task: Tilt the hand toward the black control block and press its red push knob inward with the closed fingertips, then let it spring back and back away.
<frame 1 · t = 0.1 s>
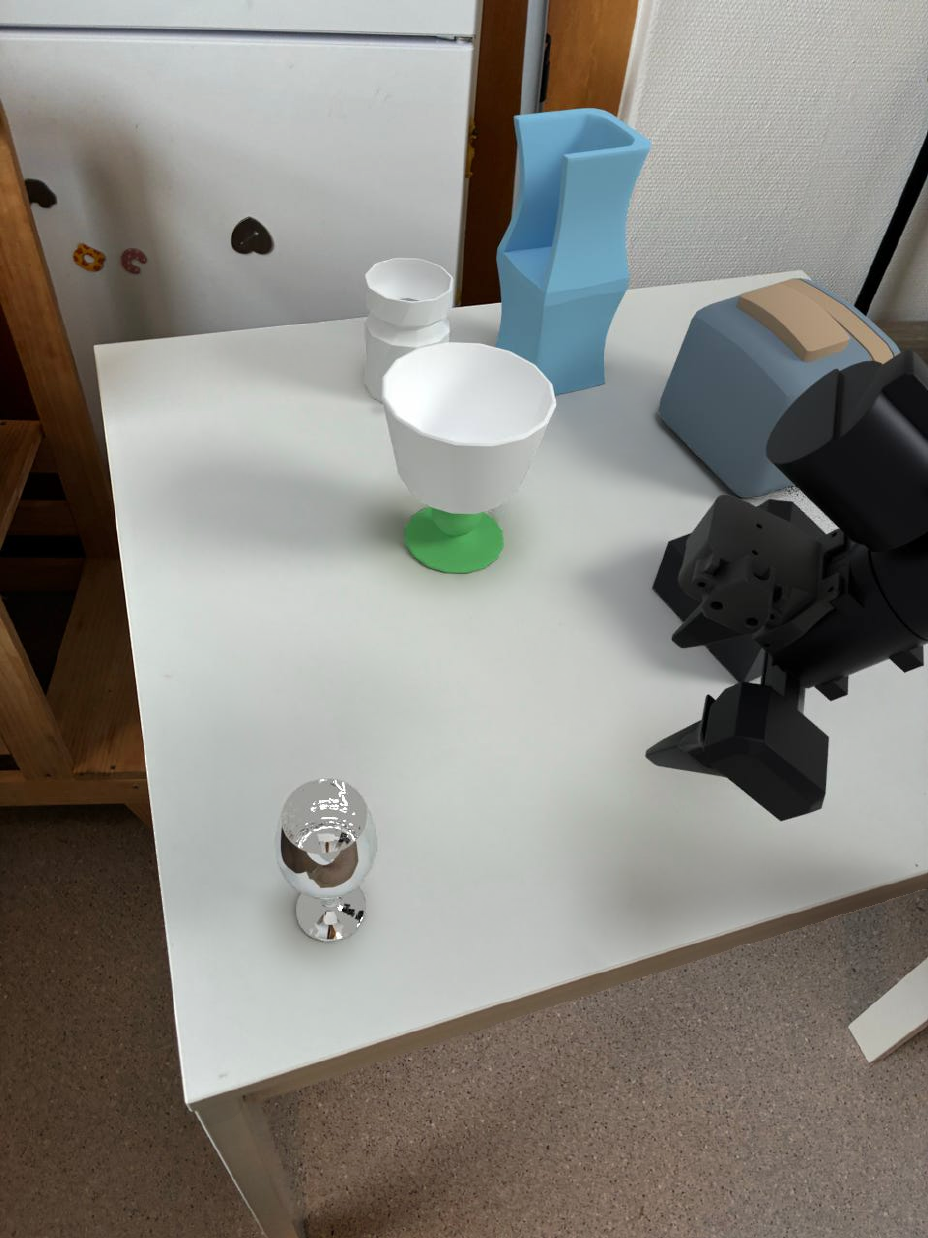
hand: (664, 697, 54), 14 cm above the table, tool tilted 35°, fingers open, 9 cm apart
cup: (454, 539, 82), on the table
wineglass: (331, 909, 58), on the table
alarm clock: (752, 444, 95), on the table
vase 2: (405, 386, 97), on the table
vase: (544, 369, 101), on the table
button: (769, 549, 72), point 8 cm above the table, slide at 0.1 cm
control block: (739, 615, 78), on the table
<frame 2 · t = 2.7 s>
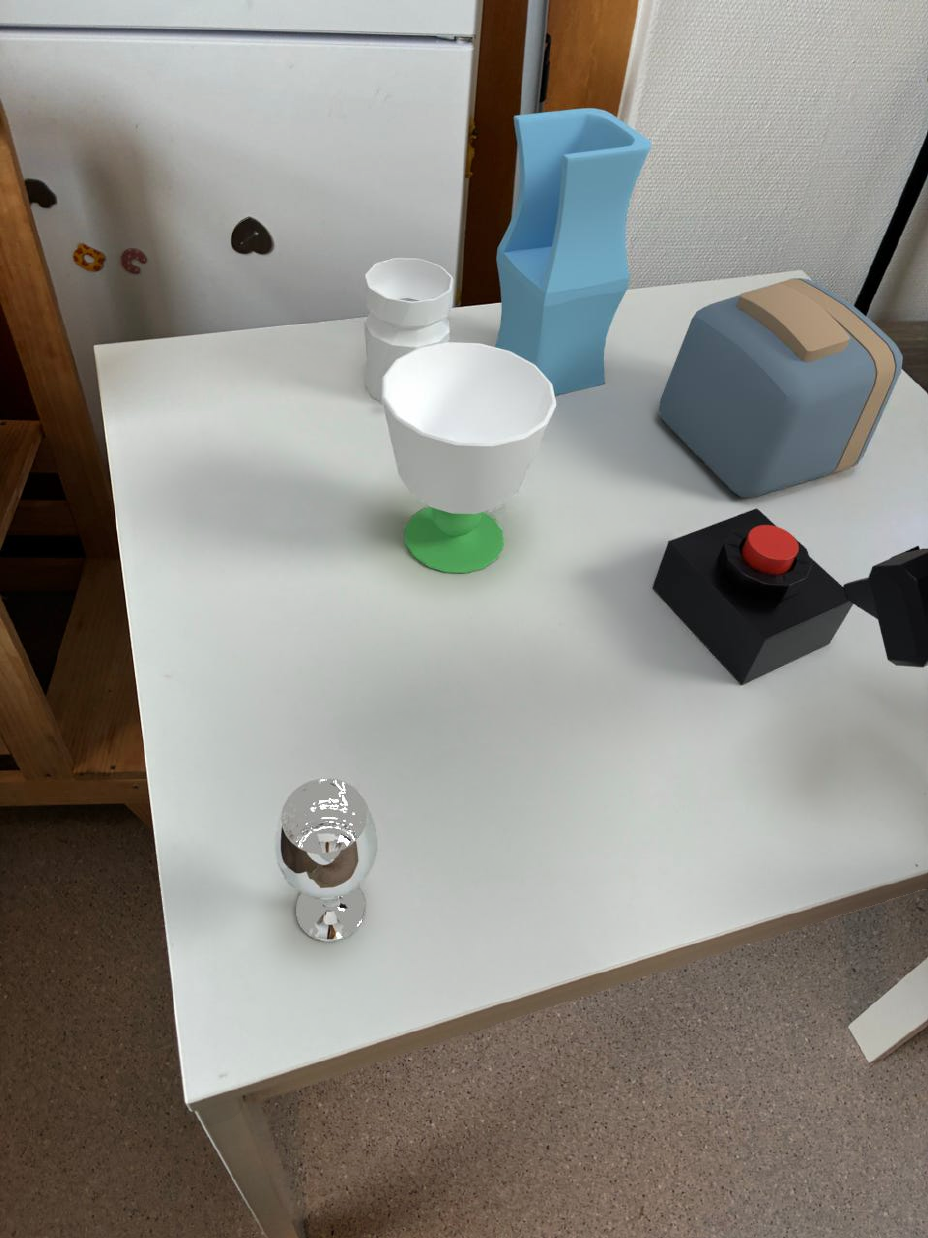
hand: (883, 574, 63), 14 cm above the table, tool tilted 45°, fingers open, 7 cm apart
nothing on the table moved.
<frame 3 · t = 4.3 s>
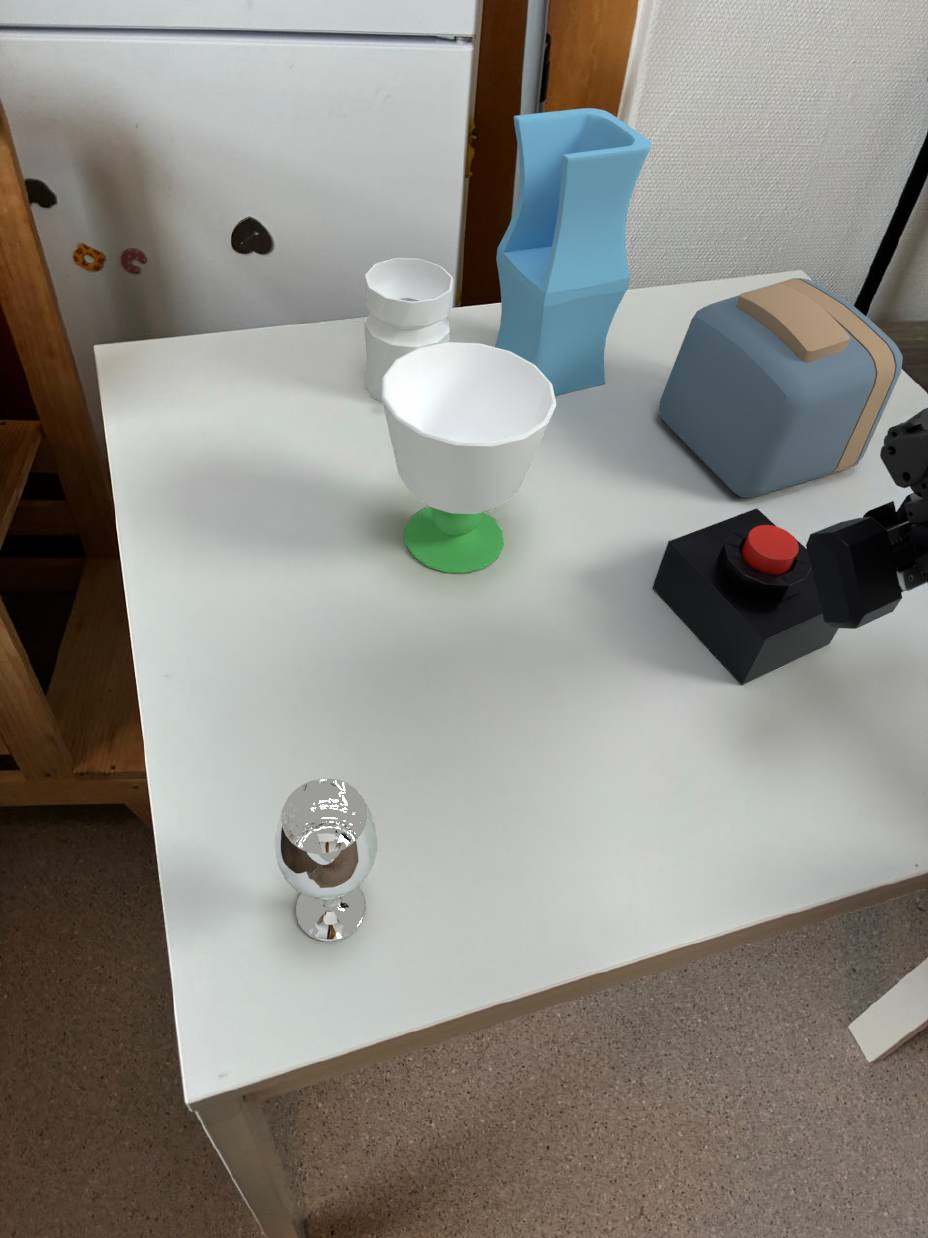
hand: (830, 546, 66), 12 cm above the table, tool tilted 45°, fingers closed
nothing on the table moved.
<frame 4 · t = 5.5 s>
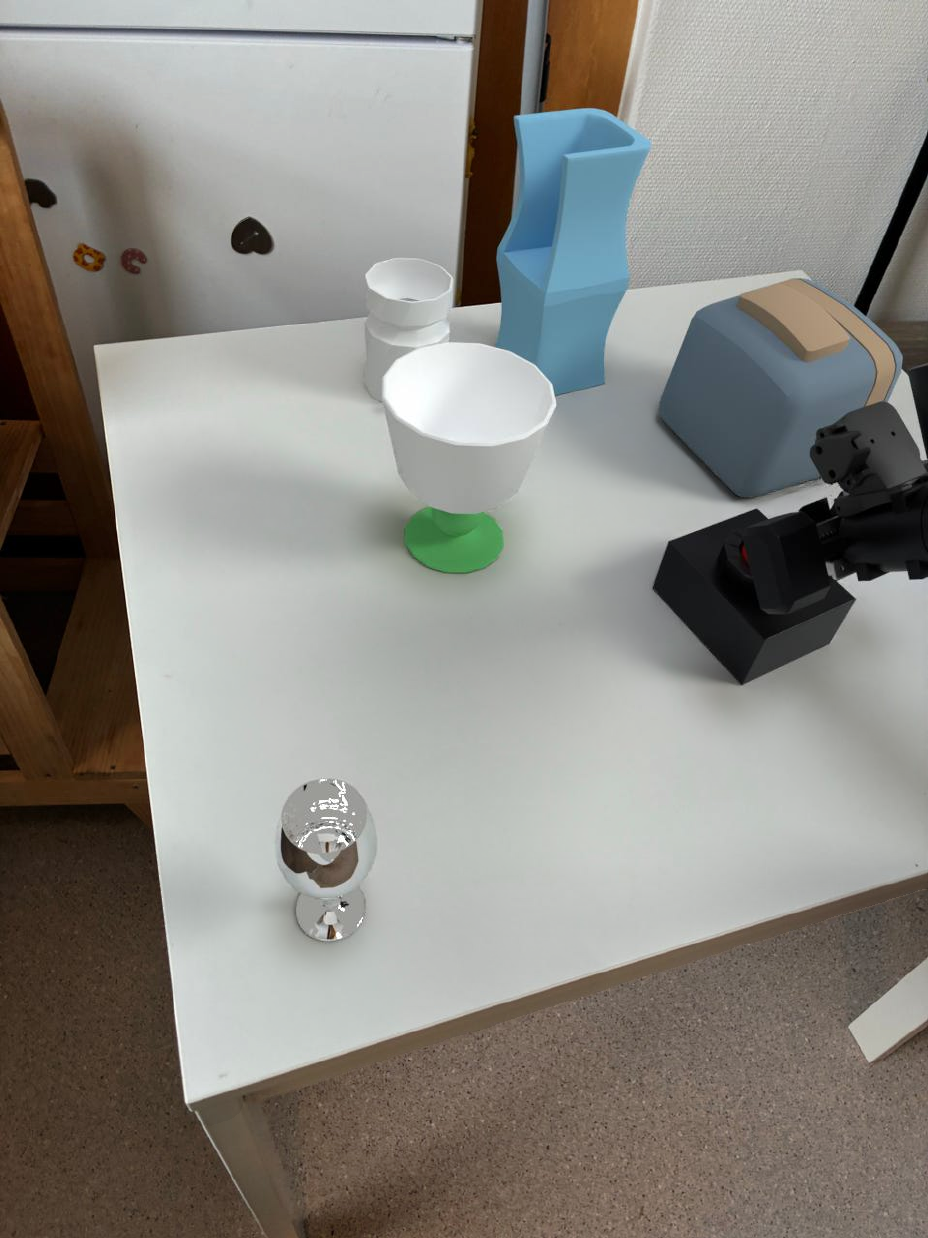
hand: (774, 540, 71), 9 cm above the table, tool tilted 45°, fingers closed, pressing on button
button: (769, 550, 72), point 8 cm above the table, slide at 0.0 cm, touching gripper
everything else where it was.
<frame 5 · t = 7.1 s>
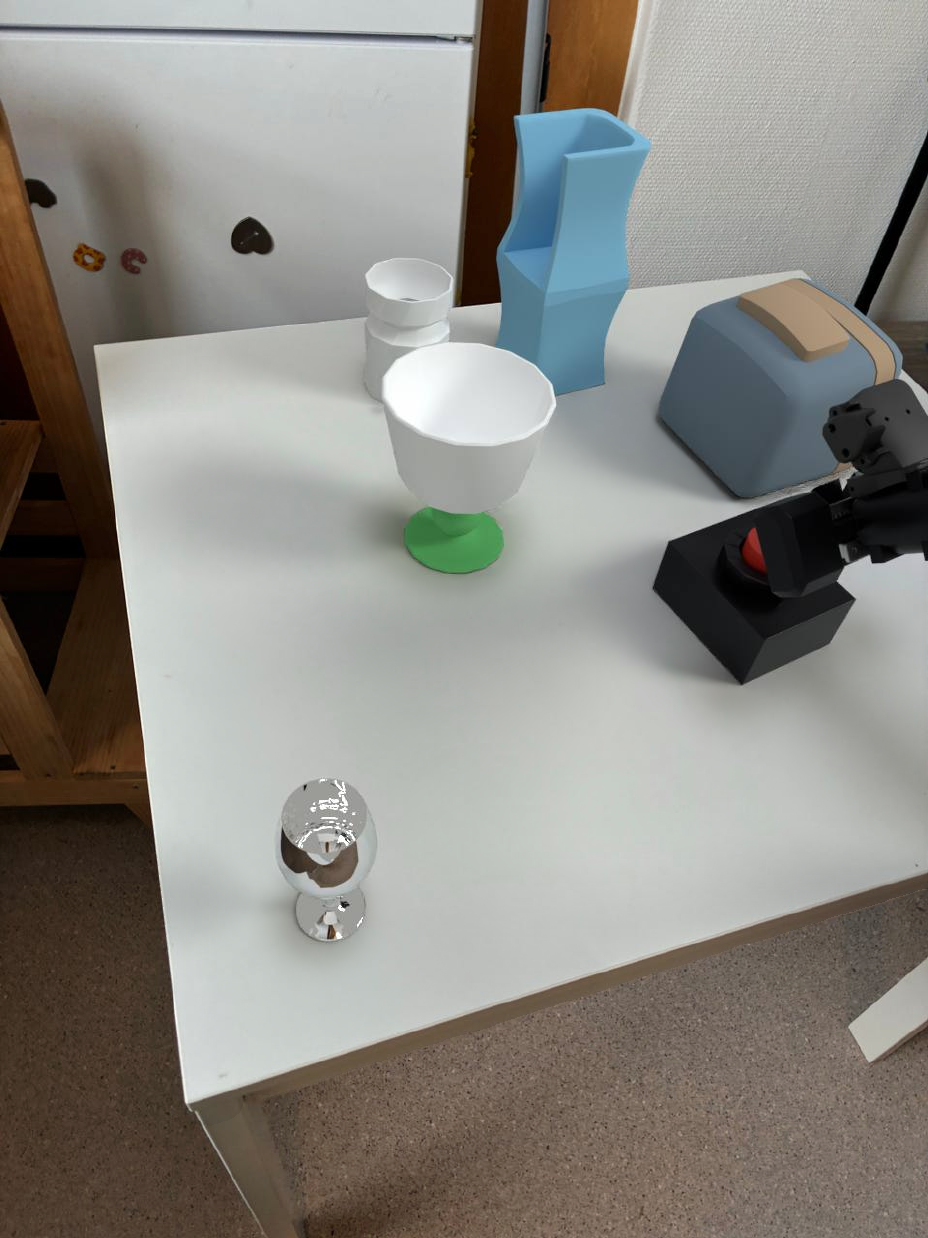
hand: (784, 524, 70), 11 cm above the table, tool tilted 45°, fingers closed
button: (769, 549, 72), point 8 cm above the table, slide at 0.1 cm
everything else where it was.
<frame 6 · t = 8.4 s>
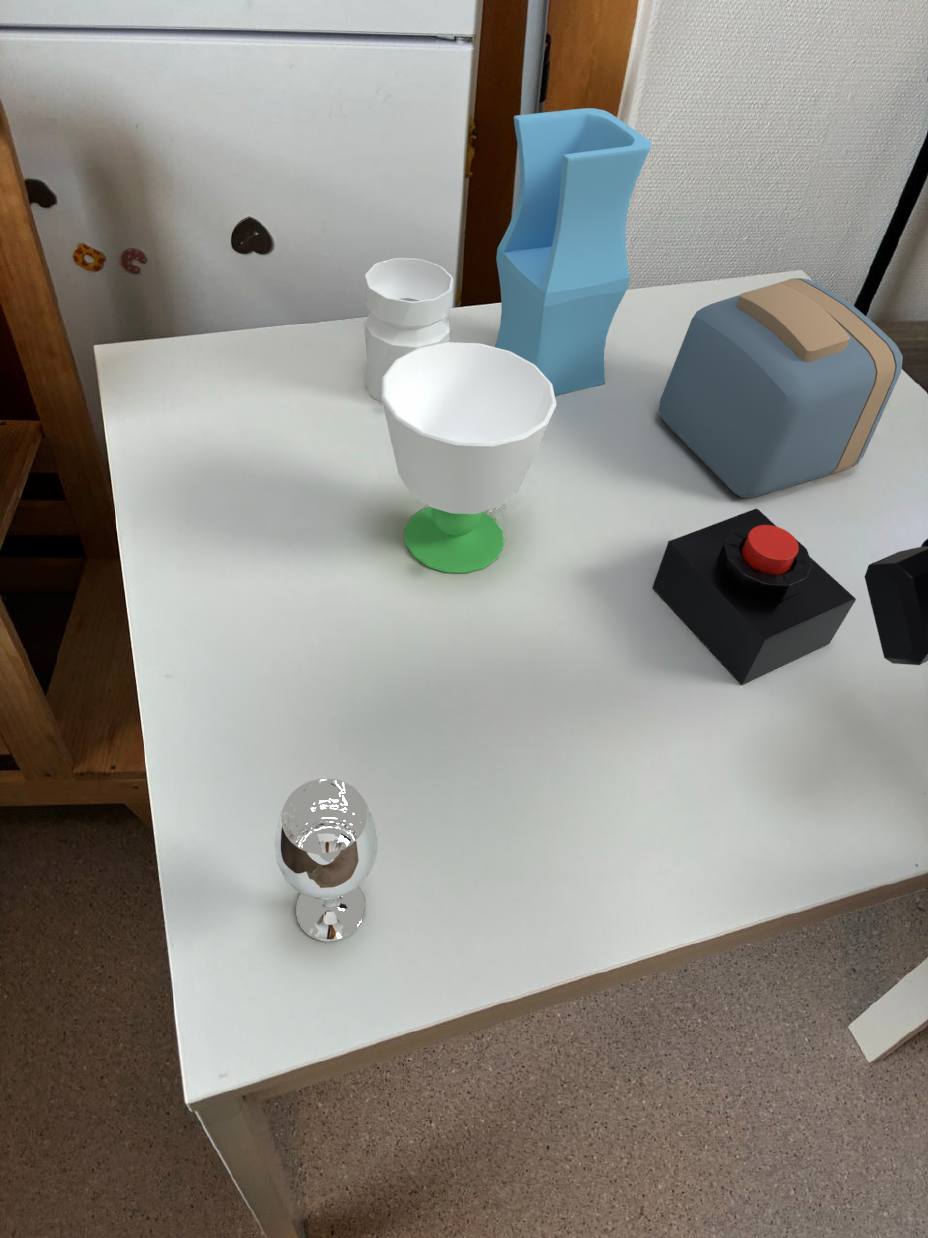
hand: (880, 573, 63), 13 cm above the table, tool tilted 45°, fingers closed
nothing on the table moved.
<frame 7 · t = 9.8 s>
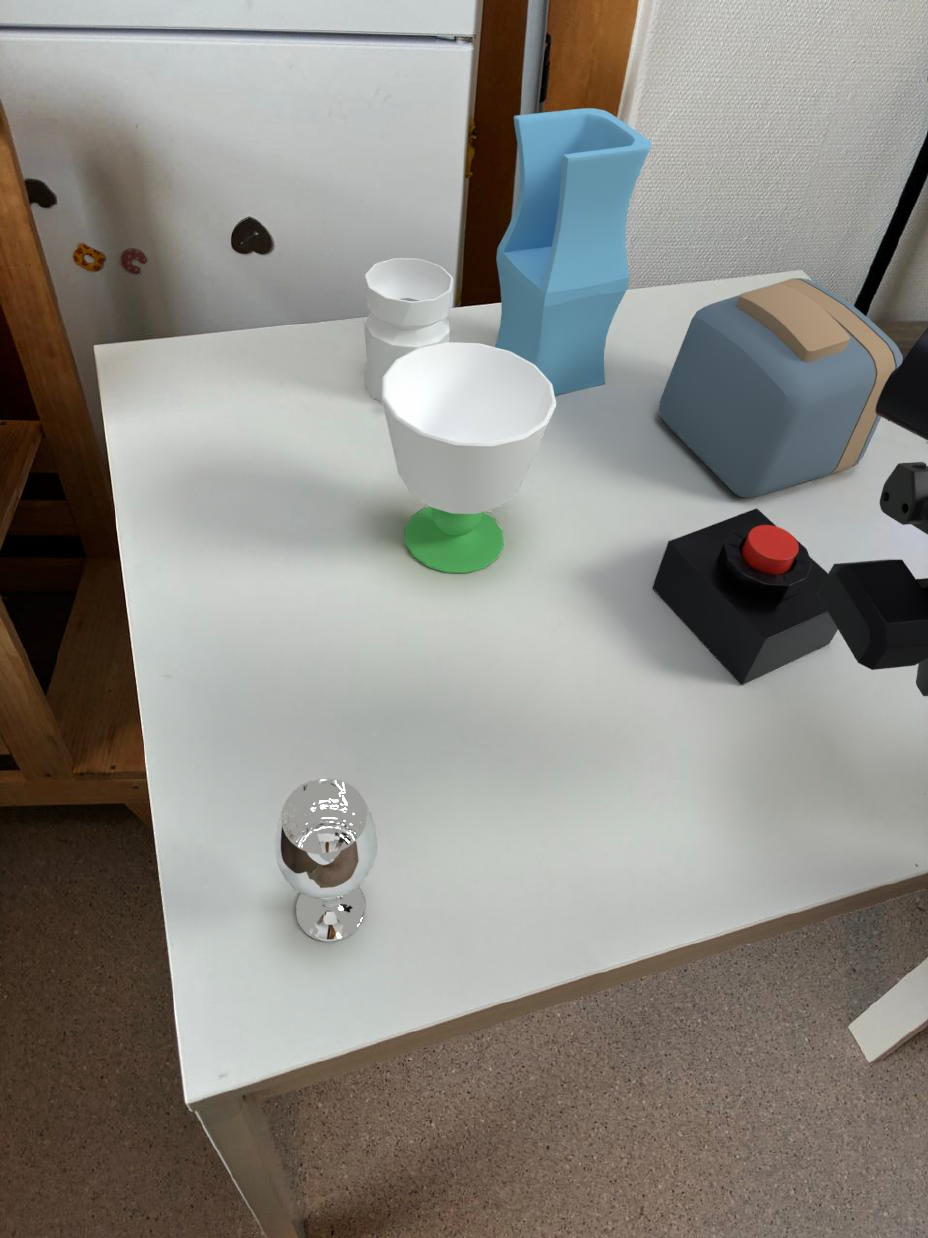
hand: (924, 690, 57), 13 cm above the table, tool pointing down, fingers closed
nothing on the table moved.
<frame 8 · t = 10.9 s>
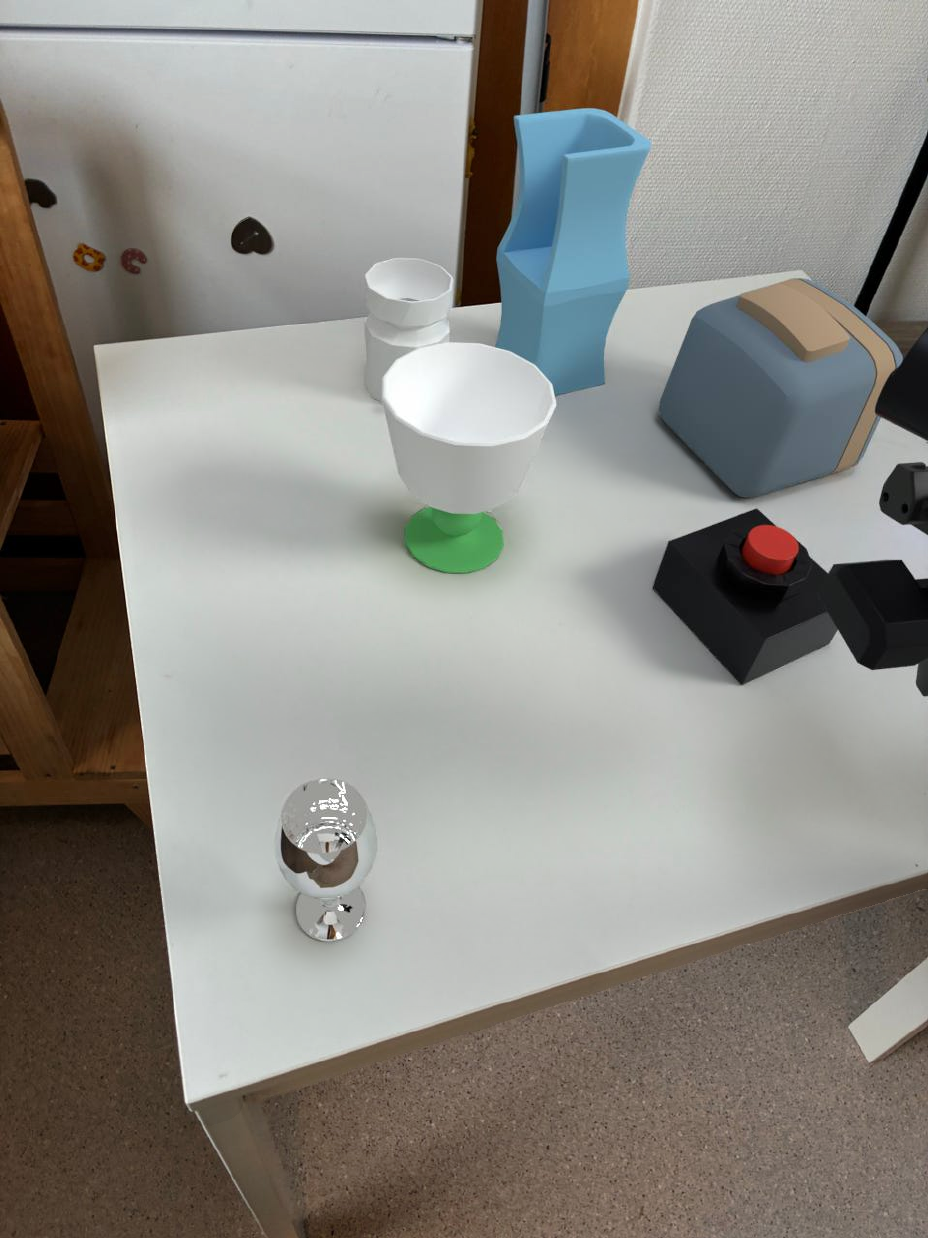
hand: (924, 690, 57), 13 cm above the table, tool pointing down, fingers closed
nothing on the table moved.
at the end: button pushed in 1.3 cm at the most during the clip, back to where it started at the end; button slide at 0.1 cm; wineglass tilted 0° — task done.
